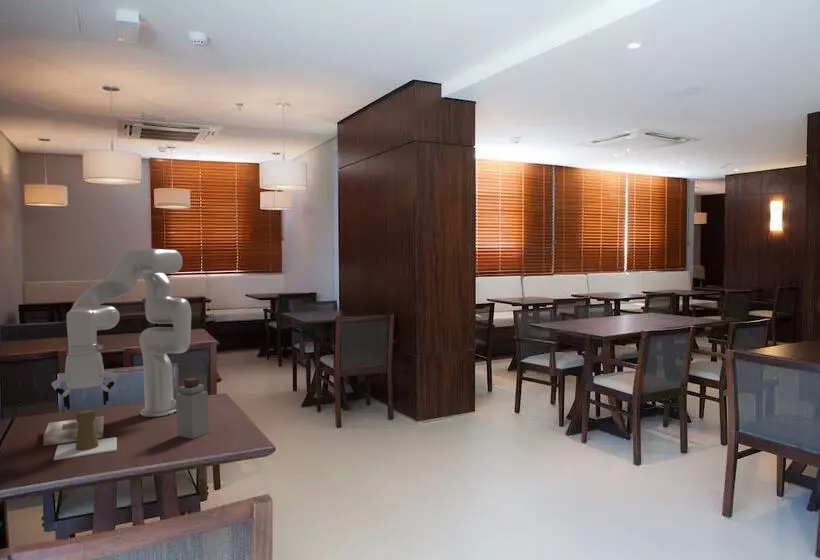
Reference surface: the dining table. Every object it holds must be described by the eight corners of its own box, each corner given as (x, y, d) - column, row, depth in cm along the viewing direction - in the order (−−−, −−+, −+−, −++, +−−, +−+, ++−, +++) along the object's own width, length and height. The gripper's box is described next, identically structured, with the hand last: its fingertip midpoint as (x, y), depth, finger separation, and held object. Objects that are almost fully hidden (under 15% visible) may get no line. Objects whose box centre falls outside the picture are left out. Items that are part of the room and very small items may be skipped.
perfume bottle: (208, 432, 187) (207, 377, 186) (192, 438, 181) (191, 382, 180) (193, 430, 190) (191, 376, 189) (177, 436, 184) (175, 380, 183)
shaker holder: (103, 424, 197) (103, 416, 197) (102, 437, 183) (102, 428, 183) (49, 431, 190) (48, 422, 190) (43, 445, 176) (43, 436, 176)
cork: (103, 443, 175) (101, 408, 175) (90, 450, 169) (88, 413, 169) (84, 443, 176) (82, 408, 175) (71, 450, 170) (69, 413, 169)
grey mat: (116, 438, 182) (116, 437, 182) (116, 450, 170) (116, 449, 170) (57, 446, 175) (57, 445, 175) (53, 460, 163) (53, 458, 163)
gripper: (115, 345, 179) (119, 398, 180) (50, 351, 171) (54, 407, 172) (115, 349, 172) (119, 405, 173) (48, 355, 164) (52, 414, 165)
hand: (87, 406), depth 173 cm, fingers open, 9 cm apart
